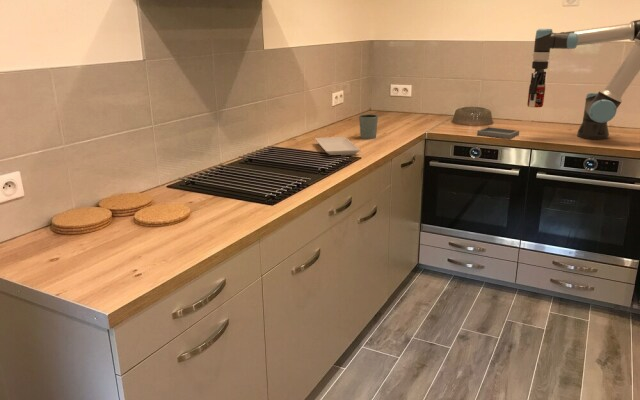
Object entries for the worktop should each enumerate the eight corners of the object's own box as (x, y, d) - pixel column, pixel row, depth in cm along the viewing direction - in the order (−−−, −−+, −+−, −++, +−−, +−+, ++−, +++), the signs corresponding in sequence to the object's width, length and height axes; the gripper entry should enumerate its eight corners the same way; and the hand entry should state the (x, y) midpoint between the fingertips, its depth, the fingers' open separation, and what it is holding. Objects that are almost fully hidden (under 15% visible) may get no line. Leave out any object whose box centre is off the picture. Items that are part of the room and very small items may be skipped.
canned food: (525, 106, 272) (528, 85, 269) (528, 104, 279) (531, 83, 275) (541, 107, 268) (544, 86, 265) (544, 105, 275) (546, 84, 271)
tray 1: (345, 142, 276) (345, 136, 275) (361, 156, 247) (361, 149, 246) (313, 144, 273) (313, 137, 272) (326, 158, 244) (325, 151, 243)
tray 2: (518, 135, 288) (519, 130, 287) (509, 139, 277) (510, 134, 277) (487, 131, 298) (487, 126, 298) (477, 135, 288) (477, 130, 287)
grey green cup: (378, 136, 289) (379, 114, 285) (375, 139, 280) (376, 117, 276) (360, 135, 292) (361, 113, 288) (357, 139, 282) (357, 116, 279)
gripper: (540, 59, 276) (535, 102, 283) (525, 61, 261) (519, 107, 269) (555, 59, 271) (549, 104, 278) (540, 62, 256) (534, 108, 264)
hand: (535, 105), depth 273 cm, fingers closed on canned food, 8 cm apart
